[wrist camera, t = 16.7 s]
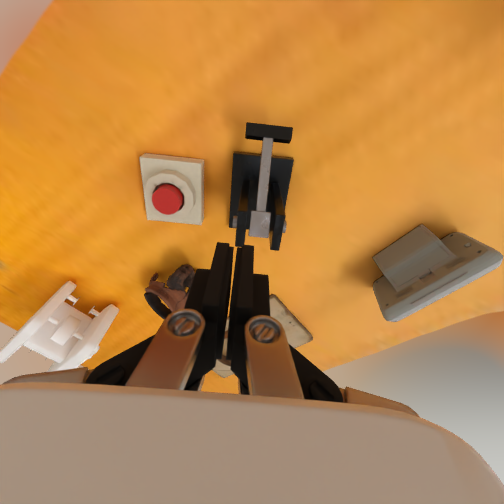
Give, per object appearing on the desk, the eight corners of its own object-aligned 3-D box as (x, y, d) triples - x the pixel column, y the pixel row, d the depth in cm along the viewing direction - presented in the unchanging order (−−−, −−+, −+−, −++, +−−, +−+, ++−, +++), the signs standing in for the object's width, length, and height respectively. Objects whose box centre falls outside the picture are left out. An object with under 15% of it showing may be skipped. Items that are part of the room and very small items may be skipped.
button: (154, 182, 34) (150, 187, 33) (182, 185, 34) (179, 190, 33) (157, 208, 36) (153, 213, 35) (183, 210, 36) (180, 216, 35)
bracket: (234, 151, 35) (224, 177, 25) (292, 157, 36) (306, 186, 26) (229, 224, 41) (220, 268, 31) (279, 229, 41) (287, 275, 32)
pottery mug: (208, 303, 51) (179, 334, 46) (172, 275, 53) (139, 303, 47) (219, 265, 42) (184, 299, 37) (175, 234, 44) (135, 262, 39)
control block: (145, 152, 36) (133, 160, 32) (204, 159, 36) (198, 167, 33) (152, 213, 40) (142, 225, 37) (203, 218, 41) (199, 231, 37)
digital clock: (370, 291, 48) (396, 339, 39) (350, 257, 44) (374, 302, 35) (466, 249, 43) (521, 293, 34) (453, 207, 39) (512, 244, 30)
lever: (246, 128, 30) (246, 120, 27) (289, 133, 30) (293, 125, 28) (236, 233, 31) (235, 234, 29) (278, 237, 31) (281, 239, 29)
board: (223, 376, 63) (221, 390, 61) (177, 343, 57) (173, 356, 54) (313, 336, 55) (316, 350, 52) (272, 292, 49) (273, 304, 46)
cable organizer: (76, 271, 47) (28, 321, 37) (126, 304, 51) (95, 357, 41) (37, 310, 52) (-13, 362, 42) (85, 337, 56) (50, 390, 47)
